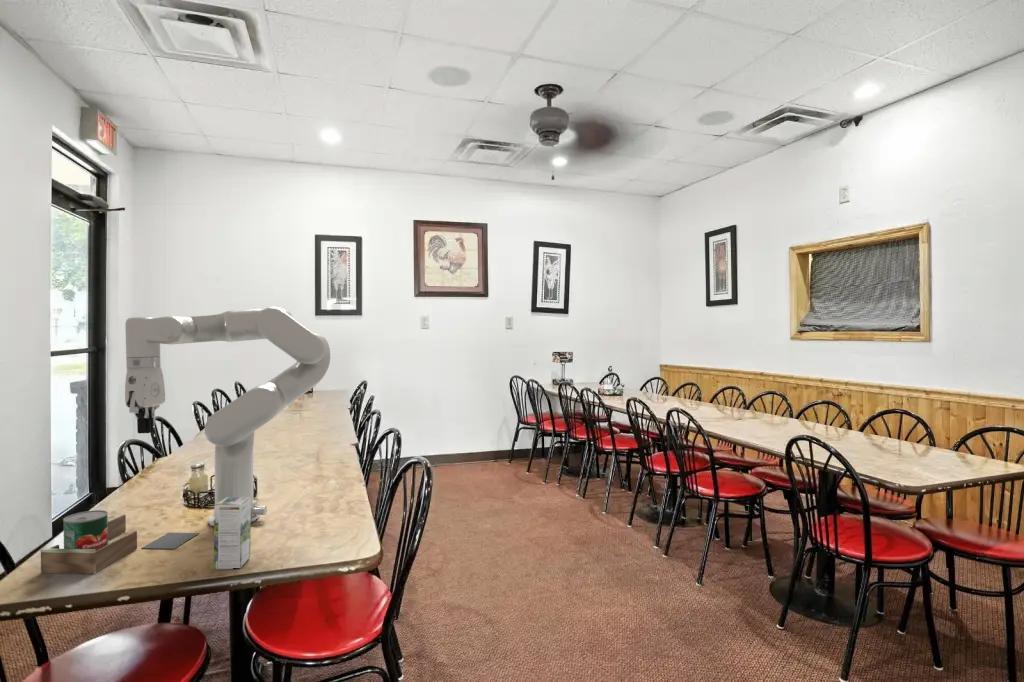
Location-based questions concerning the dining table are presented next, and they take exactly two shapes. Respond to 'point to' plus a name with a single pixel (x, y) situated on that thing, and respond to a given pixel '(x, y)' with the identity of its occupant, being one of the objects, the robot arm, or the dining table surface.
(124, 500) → the dining table surface
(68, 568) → the corral
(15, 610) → the dining table surface
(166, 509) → the dining table surface
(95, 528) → the canned tomato
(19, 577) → the dining table surface
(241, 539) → the syrup box
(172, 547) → the mats
